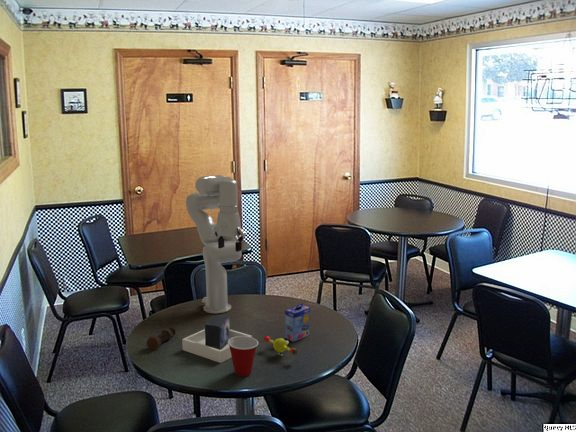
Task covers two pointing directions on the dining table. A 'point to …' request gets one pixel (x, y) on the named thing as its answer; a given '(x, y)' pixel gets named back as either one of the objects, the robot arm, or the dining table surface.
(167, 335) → the bolt
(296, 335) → the ink cartridge box
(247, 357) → the plastic cup
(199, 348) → the tray
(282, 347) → the toy figure
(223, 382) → the dining table surface
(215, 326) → the small box
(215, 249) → the robot arm
